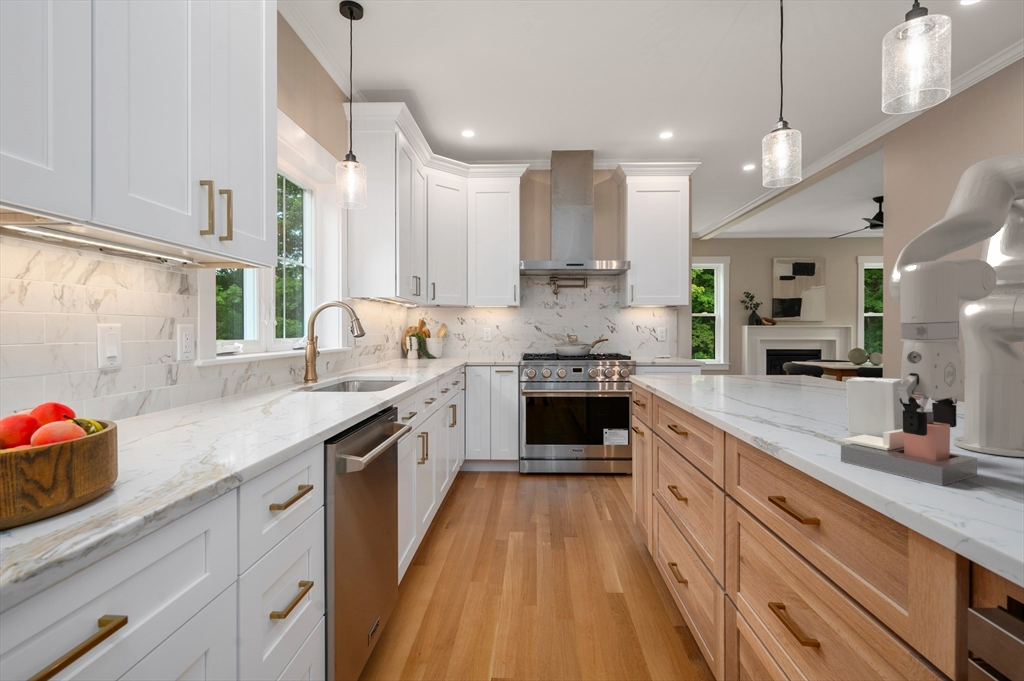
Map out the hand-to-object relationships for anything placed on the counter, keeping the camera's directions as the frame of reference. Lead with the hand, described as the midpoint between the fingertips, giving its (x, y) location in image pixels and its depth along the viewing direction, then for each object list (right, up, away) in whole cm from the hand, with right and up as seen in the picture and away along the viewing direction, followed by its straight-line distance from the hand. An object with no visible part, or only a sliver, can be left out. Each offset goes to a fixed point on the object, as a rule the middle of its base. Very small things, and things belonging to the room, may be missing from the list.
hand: (929, 429), depth 80 cm
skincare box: (+1, -7, +13) cm, 15 cm away
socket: (-3, -7, +1) cm, 8 cm away
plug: (-1, -7, 0) cm, 7 cm away
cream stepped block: (-4, -4, +7) cm, 9 cm away
